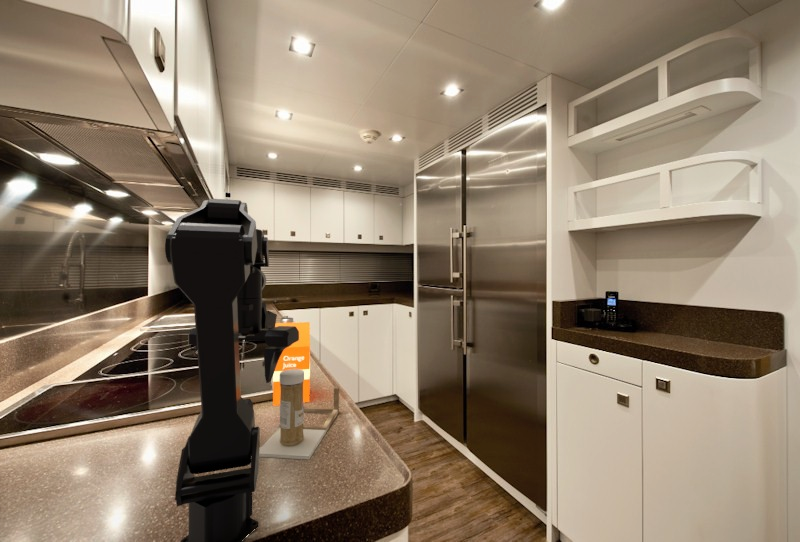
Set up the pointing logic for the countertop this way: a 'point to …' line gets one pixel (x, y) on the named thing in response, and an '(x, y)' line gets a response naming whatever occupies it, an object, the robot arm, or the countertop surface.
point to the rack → (332, 412)
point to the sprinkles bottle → (291, 406)
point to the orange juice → (294, 360)
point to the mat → (294, 451)
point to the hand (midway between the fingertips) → (245, 381)
